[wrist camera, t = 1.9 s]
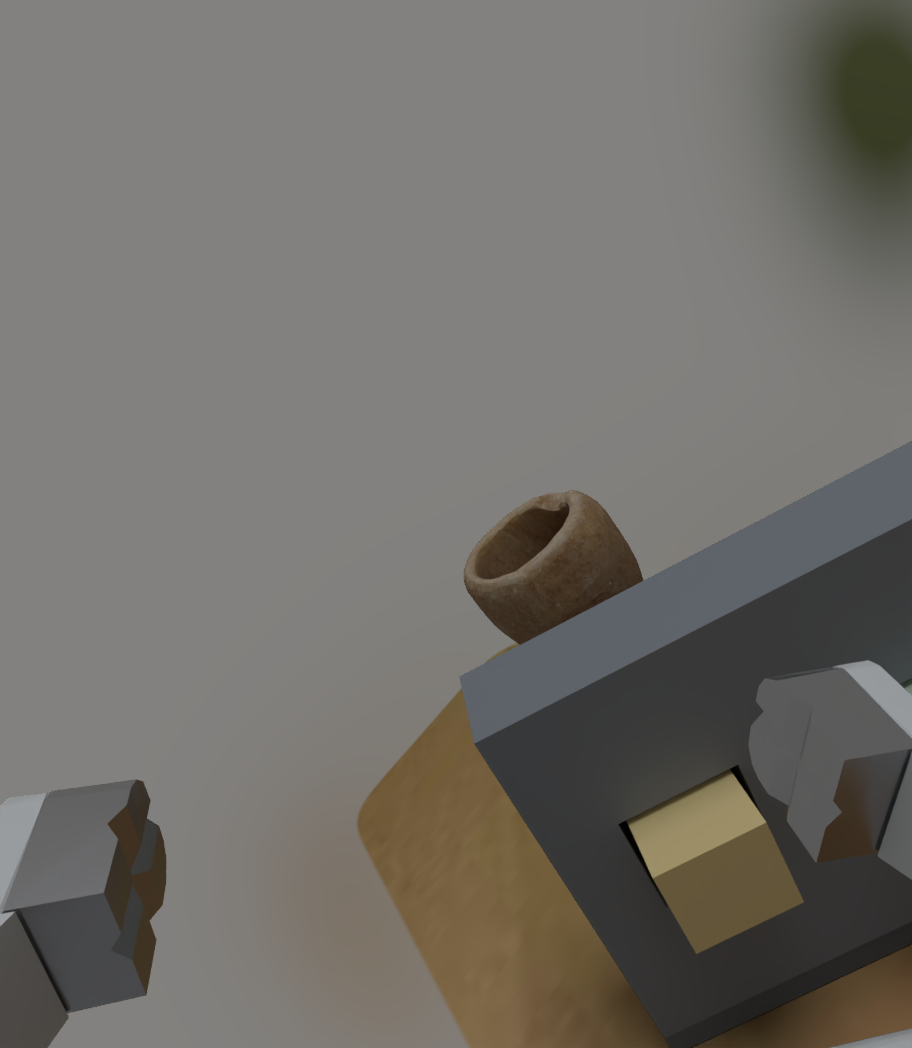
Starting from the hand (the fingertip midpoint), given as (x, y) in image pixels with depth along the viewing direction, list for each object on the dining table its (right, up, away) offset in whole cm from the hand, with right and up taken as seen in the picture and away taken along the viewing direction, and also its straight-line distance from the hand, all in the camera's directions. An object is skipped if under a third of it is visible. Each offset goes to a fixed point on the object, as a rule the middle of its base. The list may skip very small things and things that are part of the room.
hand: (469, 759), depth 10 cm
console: (+21, -11, +23) cm, 33 cm away
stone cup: (+12, -9, +39) cm, 42 cm away
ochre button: (+10, -10, +17) cm, 22 cm away
